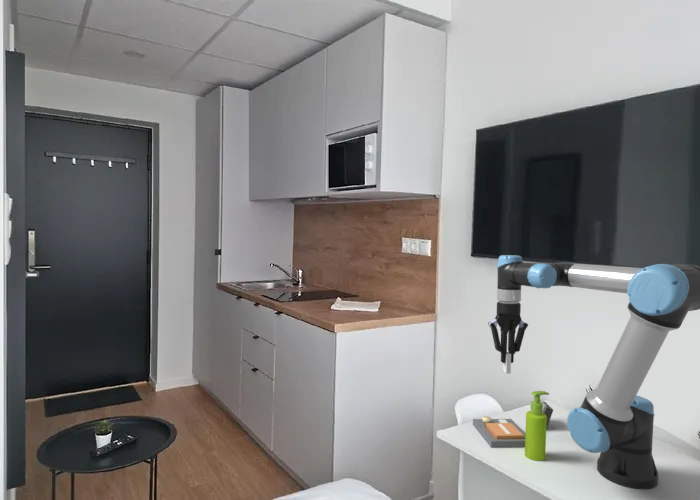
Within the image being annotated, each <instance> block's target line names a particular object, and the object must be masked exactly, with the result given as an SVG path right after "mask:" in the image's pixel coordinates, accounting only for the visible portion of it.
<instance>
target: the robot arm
mask: <svg viewBox="0 0 700 500" xmlns="http://www.w3.org/2000/svg"><path fill="white" fill-rule="evenodd" d="M496 268H497V284H496V285H497V290H496V298H497V299H496V300H497V302H496V315H495V317H494V320H492V321H489V322H488V326H489V328H490V330H491V334H492V340H493V345H494V349H495V350H496V351H497V352H499V353H500V362H501V363H502V371H503V372H504V373H505V374H507V375H508V374H509V375H510V374H511V370H512V369H511V367H512V364H513V363H514V360H515V358H514V355H515V354H516V353H518V352H520V350H521V347H522V343H523V339H524V335H525V331H526V329H527V328H528V327H529V323H527V322H525V321H523V320H522V316H521V307H522V306H521V301H522V286H524V287H531V288H536V289H550V288H551V287H566V288H567V287H569V288H579V289H588V290H596V291H605V292H611V293H620V294H627V295H628V300H629V303H628V305H627V310H628V312H629V314H630V317H629V319H628V322H627V324H626V325H625V327H624V330H623V332H622V334H621V336H620V338H619V340H618V342H617V344H616V346H615V349H614V351H613V353H612V355H611V357H610V359H609V361H608V363H607V366H606V368H605V370H604V372H603V374H602V375H601V378H600V379H599V380H600V381H599V383H598V384H597V387H596V389H593V390H589V391H588V392H587V393H586V395H585V397H584V399H583V401H582V403H581V405H580V406H579V407H575V408H573V409H572V410H570V412H569V413H568V415H567V419H566V425H567V430H568V431H569V432H570V433H569V434H570V436H571V438H572V440H573V441H574V442H575V443H576V445H577V446H578V447H580V448H581V449H582V450H584V451H586V452H588V453H591V454H597V453H600V454H599V457H598V458H597V461H596V470H597V472H598V473H599V474H600V475H601V476H602V477H604V478H605V479H606V480H608V481H610V482H613V483H615V484H618V485H621V486H624V487H628V488H633V489H641V490H643V489H646V490H647V489H652V488H654V487H657V485H658V484H659V473H658V469H657V467H656V464H655V460H654V456H653V452H652V451H653V439H654V438H653V437H654V421H655V420H654V418H655V412H654V411H655V410H654V404H653V402H652V401H651V400H649V399H647V398H646V397H642V396H640V395H637V394H639V393H638V392H639V390H640V389H641V387H642V385H643V383H644V381H645V379H646V377H647V375H648V373H649V371H650V370H651V367H652V365H653V363H654V362H655V360H656V357H657V355H658V353H659V352H660V350H661V348H662V346H663V344H664V342H665V340H666V338H667V336H668V334H669V332H671V331H674V330H679V329H680V328H681V326H682V324H683V322H684V320H685V318H686V317H687V315H688V312H693V311H697V310H700V266H698V265H694V264H690V263H682V264H681V263H679V264H678V263H677V264H675V263H674V264H668V263H657V264H653V265H649V266H646V267H631V266H616V265H615V266H614V265H604V264H603V265H602V264H586V263H574V262H569V261H563V262H523V258H522V256H521V255H512V254H505V255H504V254H501V255H500V256H499V257H498V262H497V267H496ZM498 326H499V328H500V336H499V330H498V328H497V327H498ZM517 327H518V329H517ZM516 330H517V332H516Z"/></svg>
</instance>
